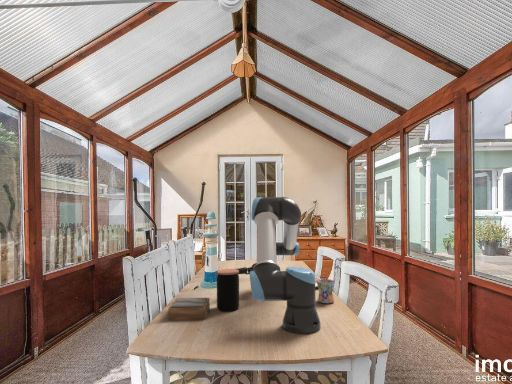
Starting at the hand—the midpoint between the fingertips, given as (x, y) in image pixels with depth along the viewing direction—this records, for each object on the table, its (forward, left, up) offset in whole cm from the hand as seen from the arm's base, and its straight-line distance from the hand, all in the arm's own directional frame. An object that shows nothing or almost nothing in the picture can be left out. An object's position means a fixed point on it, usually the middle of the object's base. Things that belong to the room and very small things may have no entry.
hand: (239, 276), depth 167 cm
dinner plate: (+35, -38, -14) cm, 54 cm away
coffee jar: (-9, +5, -14) cm, 17 cm away
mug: (0, -44, -14) cm, 46 cm away
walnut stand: (-16, +22, -13) cm, 30 cm away
